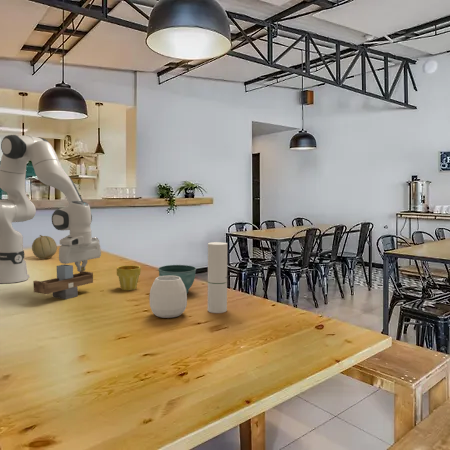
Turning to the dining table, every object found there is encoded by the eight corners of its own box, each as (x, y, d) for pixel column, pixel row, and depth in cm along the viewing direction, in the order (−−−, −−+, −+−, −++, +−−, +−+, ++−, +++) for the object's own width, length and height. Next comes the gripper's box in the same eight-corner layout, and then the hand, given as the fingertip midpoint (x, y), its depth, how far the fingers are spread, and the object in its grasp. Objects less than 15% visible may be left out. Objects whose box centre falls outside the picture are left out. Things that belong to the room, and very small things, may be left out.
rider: (56, 281, 173) (56, 265, 173) (64, 279, 177) (64, 264, 176) (65, 283, 171) (65, 267, 170) (73, 281, 174) (72, 265, 174)
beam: (33, 301, 166) (32, 280, 165) (80, 289, 186) (80, 270, 186) (46, 304, 162) (46, 283, 161) (94, 291, 183) (93, 272, 182)
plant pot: (134, 292, 183) (134, 269, 182) (112, 290, 185) (112, 268, 184) (144, 286, 193) (144, 265, 192) (123, 285, 195) (122, 264, 194)
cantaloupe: (51, 260, 259) (50, 236, 258) (27, 260, 259) (26, 236, 258) (61, 257, 274) (60, 234, 273) (38, 256, 274) (37, 233, 273)
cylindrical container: (229, 308, 158) (230, 242, 156) (223, 313, 152) (223, 245, 150) (211, 306, 161) (212, 241, 159) (204, 311, 154) (205, 244, 152)
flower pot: (203, 292, 182) (203, 268, 181) (175, 299, 171) (175, 273, 170) (179, 286, 193) (179, 263, 192) (150, 292, 182) (150, 268, 181)
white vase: (156, 322, 141) (156, 283, 140) (144, 312, 153) (144, 276, 152) (192, 317, 147) (192, 279, 146) (179, 308, 159) (178, 272, 158)
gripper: (93, 236, 190) (94, 266, 192) (56, 240, 173) (56, 274, 174) (104, 237, 187) (104, 267, 189) (66, 242, 170) (67, 275, 171)
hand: (81, 270), depth 181 cm, fingers closed
